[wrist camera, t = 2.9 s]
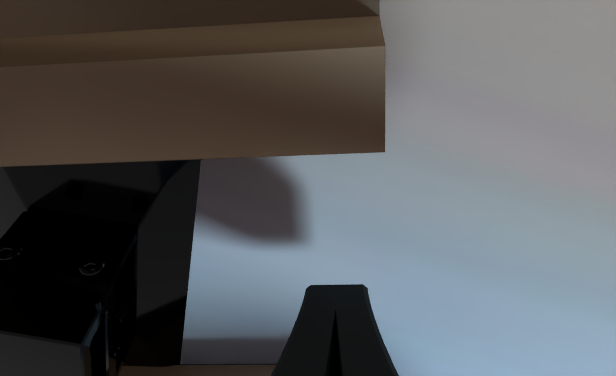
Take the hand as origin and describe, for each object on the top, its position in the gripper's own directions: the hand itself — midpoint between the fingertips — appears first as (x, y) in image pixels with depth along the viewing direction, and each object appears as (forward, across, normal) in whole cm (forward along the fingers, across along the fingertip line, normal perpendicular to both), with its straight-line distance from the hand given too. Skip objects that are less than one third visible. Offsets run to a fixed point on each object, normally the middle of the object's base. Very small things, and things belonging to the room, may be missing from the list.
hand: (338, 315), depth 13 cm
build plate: (+3, +7, 0) cm, 8 cm away
